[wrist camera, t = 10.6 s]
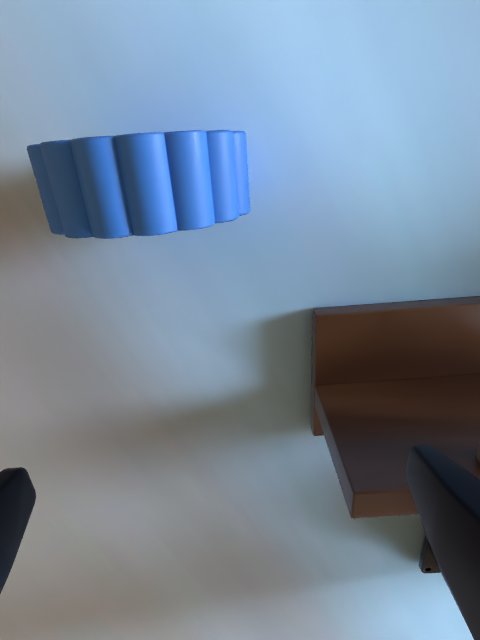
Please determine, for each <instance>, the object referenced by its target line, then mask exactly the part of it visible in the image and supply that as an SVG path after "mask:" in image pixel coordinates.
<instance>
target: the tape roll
mask: <svg viewBox="0 0 480 640" xmlns="http://www.w3.org/2000/svg"><path fill="white" fill-rule="evenodd" d="M27 151H28V154H29V158H30V161H31V165H32V168H33V171H34V175H35V178H36V182H37V185H38V189H39V192H40V196H41V199H42V202H43V206H44V209H45V213H46V216H47V220H48V223H49V227H50V230H51V232H52V233H53V234H59V235H65V236H66V237H68V238H88V237H95V238H102V239H110V238H121V237H127V236H132V235H135V236H152V235H160V234H166V233H171V232H174V231H181V230H194V229H201V228H205V227H209V226H212V225H213V224H215V223H223V222H228V221H232V220H235V219H237V218H238V217H239V216H241V215H245V214H247V213H249V212H250V199H249V181H248V164H247V146H246V133H245V132H244V131H230V130H214V131H176V132H165V133H137V134H125V135H117V136H99V137H86V138H77V139H72V140H60V141H49V142H42V143H40V144H34V145H29V146H27Z"/></svg>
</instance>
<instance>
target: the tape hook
mask: <svg viewBox="0 0 480 640" xmlns="http://www.w3.org/2000/svg"><path fill="white" fill-rule="evenodd" d="M311 428H312V432H313V435H314V436H321V435H324V436H325V439H326V443H327V446H328V449H329V452H330V455H331V458H332V461H333V464H334V467H335V470H336V473H337V476H338V479H339V482H340V485H341V488H342V491H343V494H344V498H345V501H346V504H347V507H348V510H349V513H350V516H351V518H353V519H356V518H371V517H386V516H401V515H416V514H419V513H418V510H417V507H416V505H415V502H414V499H413V496H412V494H411V491H410V488H409V485H408V482H407V478H406V467H407V461H408V456H409V450H410V448H411V446H413V445H431V446H433V447H434V448H436V449H437V450H439V451H440V452H442V453H443V454H445V455H446V456H447V457H449V458H450V459H452V460H453V461H455V462H456V463H458V464H459V465H460V466H462V467H463V468H465V469H466V470H468V471H469V472H470V473H472V474H473V475H475V476H476V477H478V478H479V479H480V296H474V297H460V298H447V299H433V300H419V301H406V302H392V303H378V304H365V305H351V306H337V307H324V308H313V310H312V371H311Z"/></svg>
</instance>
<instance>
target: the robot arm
mask: <svg viewBox="0 0 480 640" xmlns="http://www.w3.org/2000/svg"><path fill="white" fill-rule="evenodd" d="M406 478H407V482H408V485H409V488H410V491H411V494H412V496H413V499H414V502H415V505H416V507H417V510H418V513H419V516H420V519H421V521H422V524H423V527H424V530H425V532H426V536H425V541H424V545H423V550H422V554H421V558H420V563H419V567H420V569H421V571H422V572H423V573H440V572H441V574H442V576H443V578H444V580H445V582H446V584H447V586H448V588H449V590H450V592H451V594H452V596H453V598H454V600H455V602H456V604H457V606H458V608H459V610H460V612H461V614H462V616H463V618H464V620H465V622H466V624H467V626H468V628H469V630H470V632H471V634H472V636H473V638H474V640H480V479H479V478H478V477H476V476H475V475H473V474H472V473H470V472H469V471H468V470H466V469H465V468H463V467H462V466H460V465H459V464H458V463H456V462H455V461H453V460H452V459H450V458H449V457H447V456H446V455H445V454H443V453H442V452H440V451H439V450H437V449H436V448H434V447H433V446H431V445H413V446H411V448H410V450H409V456H408V461H407V467H406ZM35 500H36V492H35V489H34V487H33V484H32V482H31V479H30V477H29V475H28V472H27V470H26V469H24V468H22V467H20V468H7V469H4V470H2V471H1V472H0V593H1V591H2V589H3V587H4V584H5V582H6V580H7V578H8V575H9V573H10V570H11V568H12V565H13V563H14V560H15V557H16V555H17V552H18V549H19V546H20V543H21V540H22V538H23V535H24V532H25V529H26V526H27V524H28V521H29V518H30V515H31V512H32V510H33V507H34V504H35Z"/></svg>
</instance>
